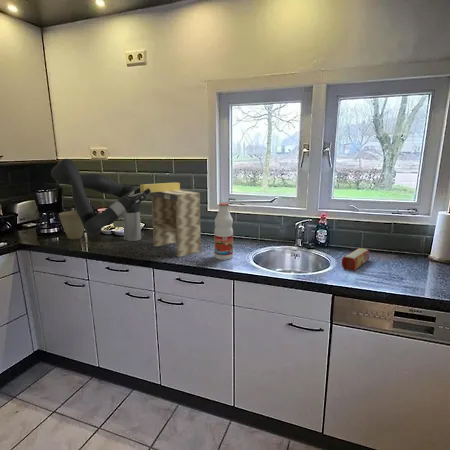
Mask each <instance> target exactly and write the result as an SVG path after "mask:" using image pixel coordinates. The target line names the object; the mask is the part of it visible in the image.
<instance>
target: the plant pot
mask: <svg viewBox="0 0 450 450" xmlns="http://www.w3.org/2000/svg"><path fill="white" fill-rule="evenodd" d="M58 217H59V219H60V223H61V225H62V227H63V230H64V232H65V233H64V234H65V235H66V236H67V239H69V240H78V239H81V238H82V237H83V234H84V231H85V229H84V227H83V224H82V221H81V219H80V217H79V215H78V213H77V211H76V210H70V211H62V212H59V213H58Z"/></svg>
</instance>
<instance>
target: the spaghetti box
mask: <svg viewBox="0 0 450 450" xmlns="http://www.w3.org/2000/svg"><path fill="white" fill-rule="evenodd" d="M139 187H140V192H141V193H142V192H144V191H145V190H146V189H148V188H149V189H150V191H151V192H163V191H176V190H181V183H180V182H162V183H147V184H145V183H144V184H139ZM151 192H150V193H151ZM150 193H149V194H150Z"/></svg>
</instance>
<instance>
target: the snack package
mask: <svg viewBox="0 0 450 450" xmlns="http://www.w3.org/2000/svg"><path fill="white" fill-rule="evenodd" d="M369 259H370V250H369V249H367V248H361V247H359V248H357V249H355V250H354V251H352V252H350V253H348V254H346V255H344V256H343V257H342V259H341V267H342V269H344V270H346V269H348V270H347V271H350V270H352V272H354V271H355V270H357V269H358V268H359V267H361V266H362V265H364V264H365V263H366V262H368V261H369ZM367 260H368V261H367Z"/></svg>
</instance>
